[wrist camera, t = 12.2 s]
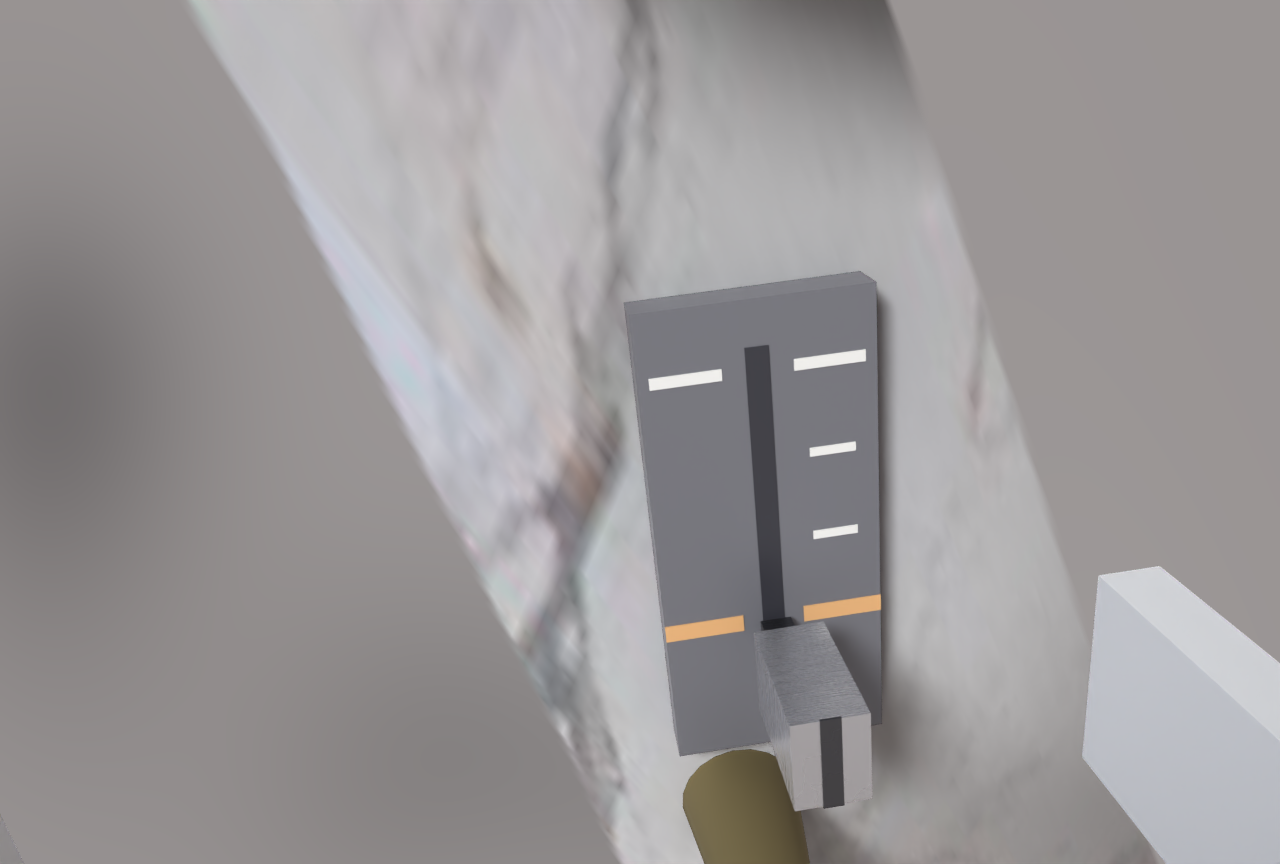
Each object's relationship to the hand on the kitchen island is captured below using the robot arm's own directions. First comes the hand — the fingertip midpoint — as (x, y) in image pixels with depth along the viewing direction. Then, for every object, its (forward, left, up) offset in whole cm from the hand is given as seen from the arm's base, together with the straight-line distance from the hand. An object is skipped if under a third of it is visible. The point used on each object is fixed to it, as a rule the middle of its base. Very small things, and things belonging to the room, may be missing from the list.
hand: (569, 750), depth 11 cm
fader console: (+13, +8, -29) cm, 33 cm away
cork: (+29, +6, -29) cm, 41 cm away
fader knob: (+17, +8, -26) cm, 33 cm away
